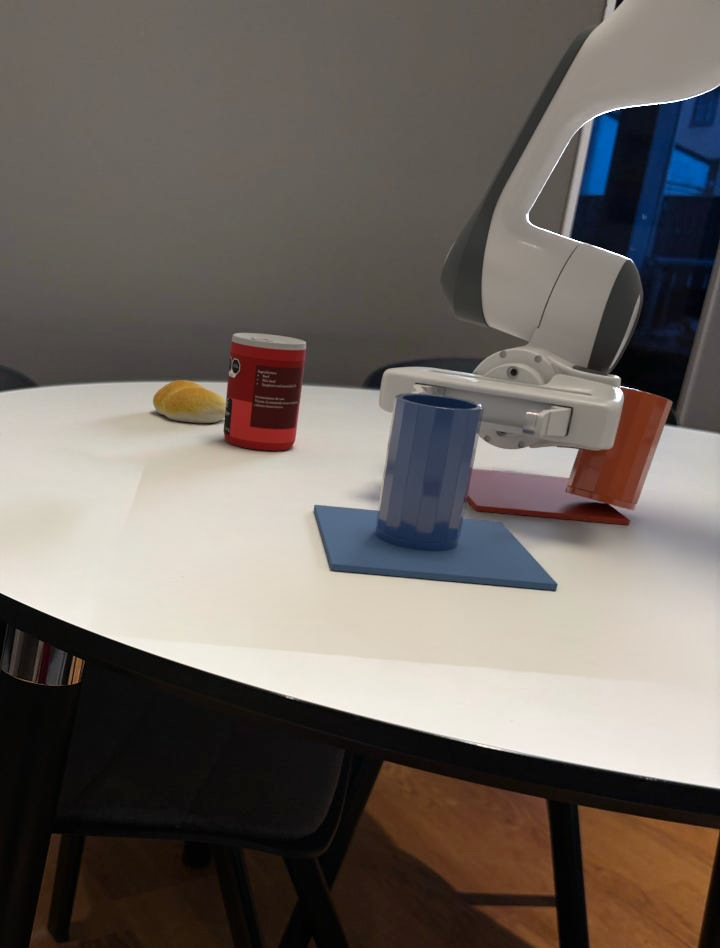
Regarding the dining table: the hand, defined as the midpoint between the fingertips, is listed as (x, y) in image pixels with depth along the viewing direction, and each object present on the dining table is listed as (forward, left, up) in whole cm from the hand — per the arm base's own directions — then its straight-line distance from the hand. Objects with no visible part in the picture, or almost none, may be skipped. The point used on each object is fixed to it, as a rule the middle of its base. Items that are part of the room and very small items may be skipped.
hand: (473, 414), depth 80 cm
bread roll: (+23, -40, -10) cm, 48 cm away
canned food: (+15, -28, -10) cm, 34 cm away
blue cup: (+4, +5, -9) cm, 11 cm away
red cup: (-16, -10, -8) cm, 20 cm away
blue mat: (+3, +6, -9) cm, 12 cm away
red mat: (-11, -15, -9) cm, 21 cm away
